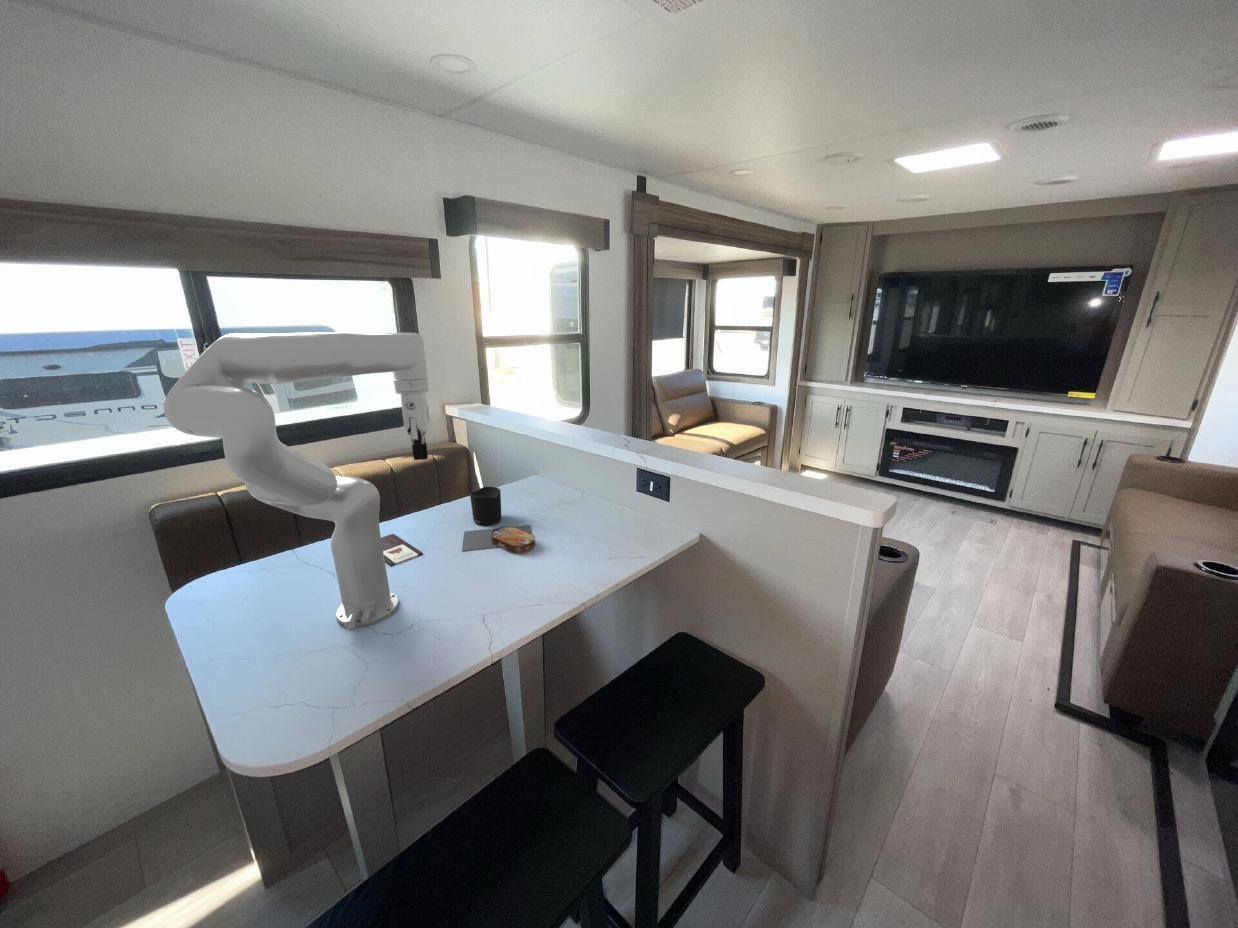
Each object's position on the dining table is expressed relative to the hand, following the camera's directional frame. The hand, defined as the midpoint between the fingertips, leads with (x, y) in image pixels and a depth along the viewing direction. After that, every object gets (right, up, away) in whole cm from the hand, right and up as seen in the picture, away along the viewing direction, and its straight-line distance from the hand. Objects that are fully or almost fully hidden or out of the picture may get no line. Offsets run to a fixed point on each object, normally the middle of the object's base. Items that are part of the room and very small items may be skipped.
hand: (421, 458), depth 121 cm
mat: (+14, -23, +23) cm, 35 cm away
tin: (+16, -25, +15) cm, 33 cm away
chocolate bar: (-14, -26, +15) cm, 34 cm away
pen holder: (+7, -20, +34) cm, 40 cm away
